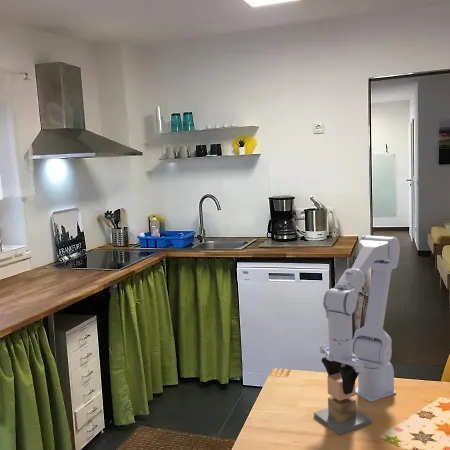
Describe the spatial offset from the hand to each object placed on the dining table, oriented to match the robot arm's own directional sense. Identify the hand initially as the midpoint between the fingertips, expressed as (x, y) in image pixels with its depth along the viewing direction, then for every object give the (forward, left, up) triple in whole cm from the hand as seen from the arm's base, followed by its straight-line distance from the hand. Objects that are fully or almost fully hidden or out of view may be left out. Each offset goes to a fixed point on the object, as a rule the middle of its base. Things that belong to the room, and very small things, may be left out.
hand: (341, 389), depth 124 cm
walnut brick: (0, 0, -7) cm, 7 cm away
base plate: (0, 0, -8) cm, 8 cm away
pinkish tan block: (0, 0, -1) cm, 1 cm away
